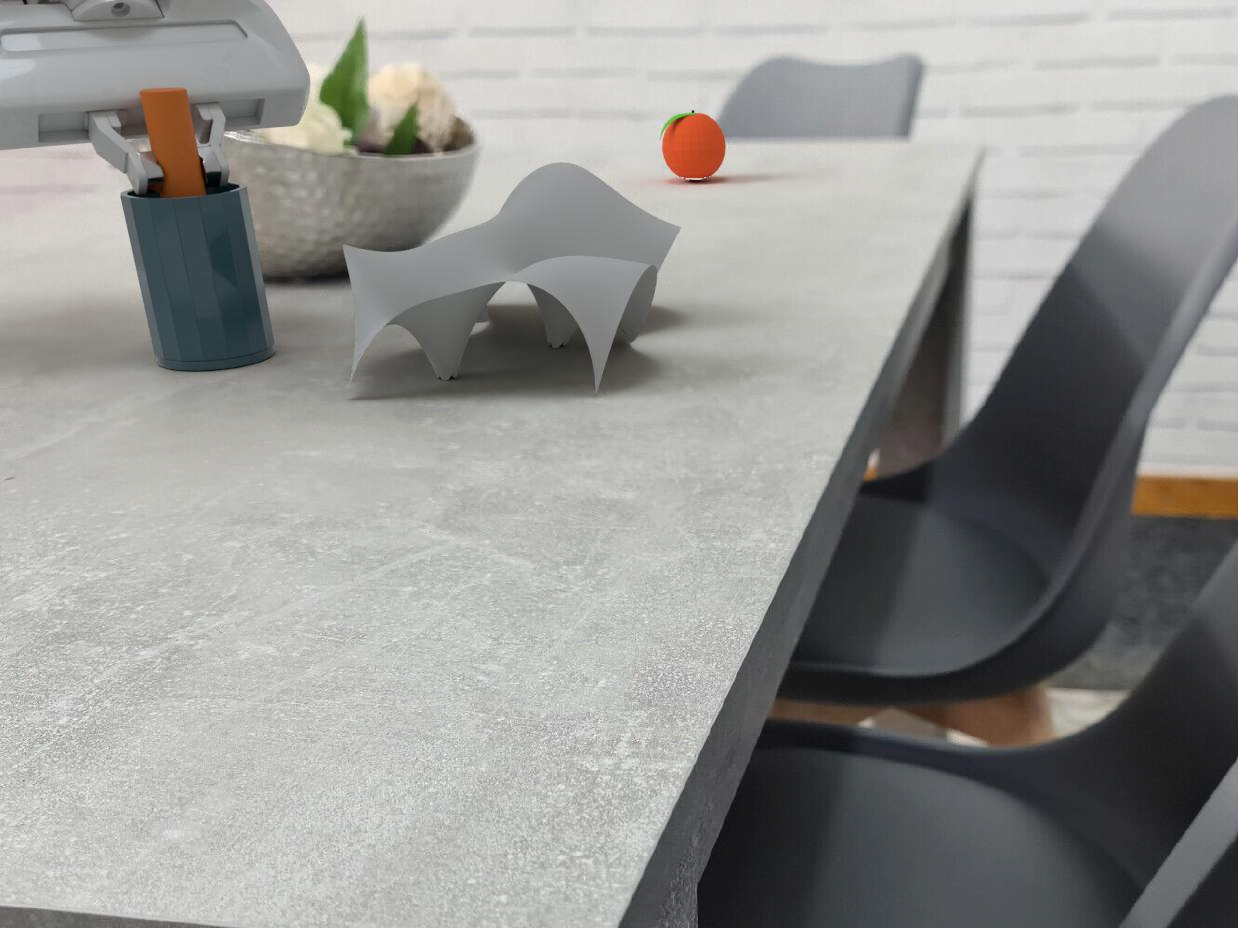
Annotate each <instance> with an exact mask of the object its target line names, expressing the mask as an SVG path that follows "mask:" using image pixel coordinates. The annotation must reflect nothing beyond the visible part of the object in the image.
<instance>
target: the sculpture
mask: <svg viewBox="0 0 1238 928" xmlns="http://www.w3.org/2000/svg"><path fill="white" fill-rule="evenodd" d="M681 229H682V226H679V225H676V224H673V223H670V222H668V221H665V220H663V219H661V218H659V217H656V216H655V215H653V214H651V213H650V212H648V211H646V210H644V209H643V208H641V207H639V206H638V205H636V204H634V202H631V201H630V200H629V199H628V198H626V197H625V196H623V195H622V194H621V193H620V192H618V191H616V190H615V189H614V188H613V187H612V186H611V185H609V184H608V183H606V182H605V181H604V180H602V179H601V178H600V177H598V176H597V175H595V174H594V173H592V172H591V171H590V170H588V169H586V168H584V167H582V166H580V165H578V164H575V163H572V162H562V161H560V162H553V163H548V164H545V165H543V166H541V167H538V168H537V169H535V170H533V171H531V172H530V173H529V174H528V175H526V176H525V177H524V178H523V179H522V180H521V181H519V182H518V184H517V185H516V187H514V189H513V190H512V191H511V193H510V194H509V196H508V197H507V198H506V200H505V202H504V204H503V205H502V207H501V208H500V210H499V212H498V213H497V214H496V215H495V216H493V217H492V218H491V219H489V220H487V221H485V222H482V223H481V224H478V225H475V226H472V227H469V228H465V229H461V230H459V231H456V232H453V233H450V234H447V235H445V236H442V237H440V238H437V239H435V240H433V241H430V242H428V243H426V244H422V245H419V246H417V247H414V248H410V249H405V250H399V251H381V250H379V251H377V250H371V249H364V248H360V247H355V246H351V245H348V244H346V243H344V244H342V250H343V255H344V259H345V264H346V267H347V272H348V276H349V281H350V286H351V287H350V288H351V292H352V300H353V310H354V345H353V347H354V348H353V357H352V365H351V372H350V378H349V382H348V387H347V391H346V396H345V397H347V396H348V395H347V394H348V392H349V389H350V385H351V382H352V379H353V377H354V375H355V372H356V370H357V367H358V364H359V363H360V361H361V359H362V356H363V355H364V353H365V351H366V350H367V349H368V347H369V345H370V344H371V342H372V341H373V340H374V338H375V337H376V336H377V334H379V333H380V331H381V330H383V329H384V328H386V327H388V326H392V325H396V326H400V327H402V328H403V329H404V330H406V331H408V332H409V333H410V334H411V335H412V336H413V337H414V339H415V340H416V341H417V342H418V344H419V345H420V347H421V349H422V350H423V352H424V353H425V355H426V357H427V359H428V361H429V363H430V365H431V367H432V370H433V372H434V374H435V376H436V379H441V380H442V381H449V380H450V378H451V377H453V379H457V378H458V375H459V371H460V367H461V364H462V363H461V362H462V359H463V356H464V353H465V349H466V347H467V345H468V341H469V339H470V337H471V334H472V331H473V329H474V327H475V325H476V324H484V323H487V322H489V314H488V313H489V311H488V304H489V302H490V301H491V299H492V298H493V297H494V296H495V295H496V294H497V292H498V291H499V290H500V289H501V288H502V287H503V286H504V285H505V284H506V283H508V282H509V283H514V282H515V283H522V284H525V285H527V287H528V289H529V291H530V292H531V294H532V295H533V297H534V299H535V302H536V304H537V307H538V309H539V312H540V316H541V319H542V323H543V326H544V331H545V336H546V341H547V346H548V347H549V346H552V348H553V349H556V348H558V349H559V348H560V347H561V345H562V346H564V347H565V346H566V345H567V344H568V343H569V341H570V340H571V337H572V336H573V335H574V334H575V332H576V331H577V330H578V329H580V331H581V333H582V334H583V337H584V339H585V342H586V344H587V348H588V350H589V351H588V352H589V354H590V358H591V363H592V368H593V374H594V386H595V387H594V388H595V389H594V390H595V396H597V395H598V392H599V389H600V385H601V381H602V377H603V373H604V371H605V368H606V364H607V361H608V357H609V355H610V351H611V349H612V346H613V343H614V339H615V336H616V333H617V330H618V328H620V329H621V330H622V331H623V332H624V334H625V335H626V337H627V339H628V341H629V342H630V343H633V342H635V341H636V339H638V336H639V335H640V333H641V331H642V329H643V327H644V325H645V323H646V320H647V318H648V315H649V313H650V309H651V307H652V304H653V301H654V297H655V293H656V288H657V285H658V284H657V283H658V273H659V271H660V270H661V267H662V266H663V264H664V262H665V259H666V258H667V256H668V254H669V252H670V250H671V248H672V246H673V244H674V242H675V241H676V239H677V237H678V235H679V233H680V231H681Z"/></svg>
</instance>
